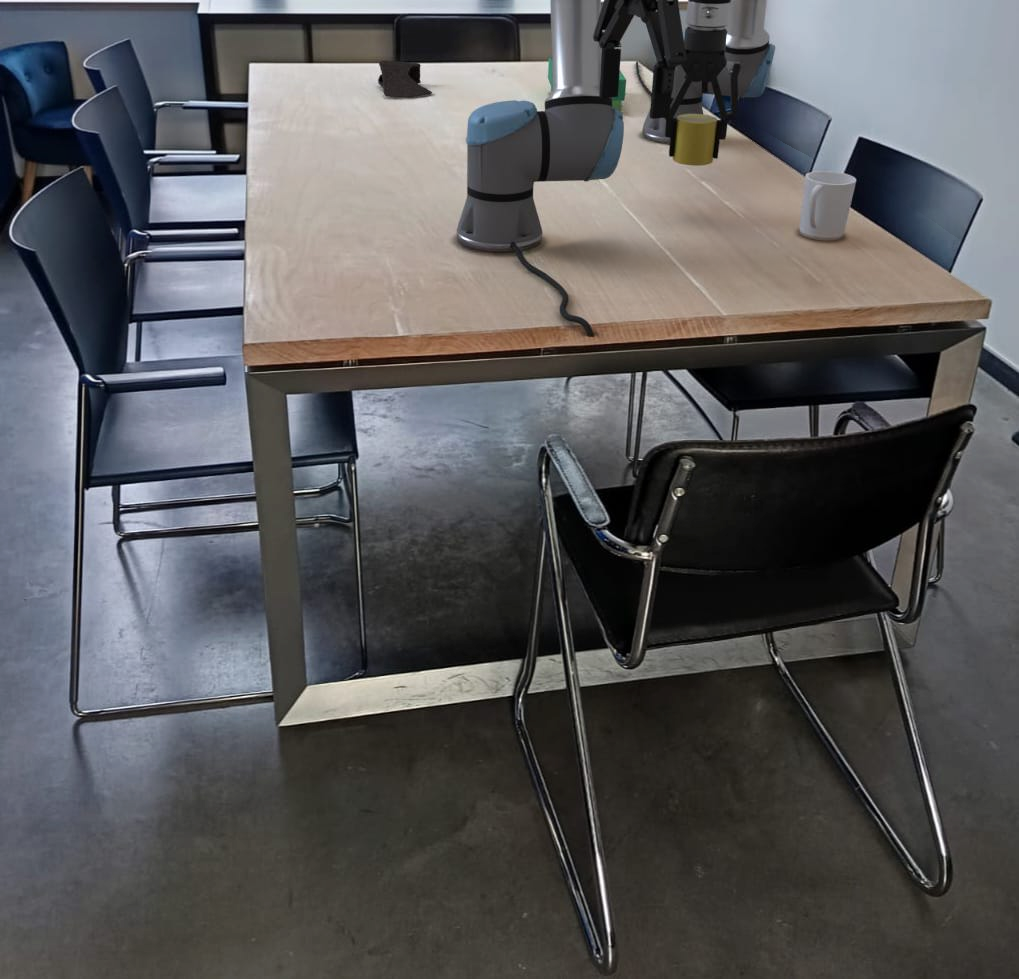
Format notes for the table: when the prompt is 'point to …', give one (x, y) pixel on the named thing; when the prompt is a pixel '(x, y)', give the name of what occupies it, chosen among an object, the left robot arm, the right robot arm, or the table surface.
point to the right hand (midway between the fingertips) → (693, 155)
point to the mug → (826, 204)
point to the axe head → (401, 79)
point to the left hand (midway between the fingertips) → (633, 107)
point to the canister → (695, 139)
